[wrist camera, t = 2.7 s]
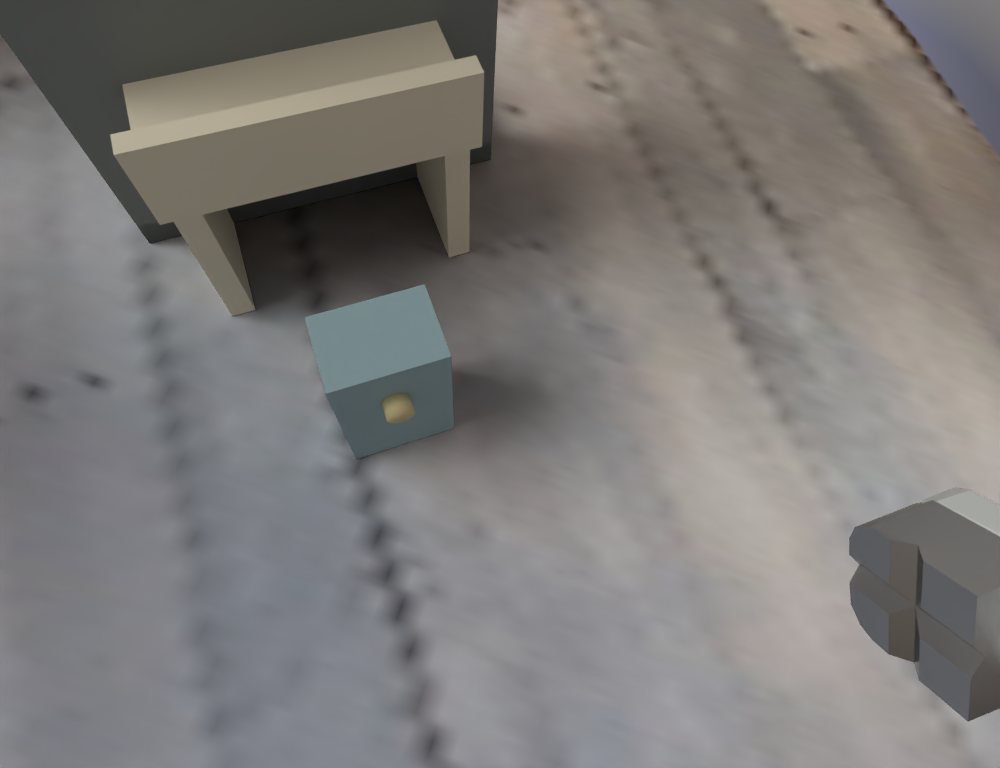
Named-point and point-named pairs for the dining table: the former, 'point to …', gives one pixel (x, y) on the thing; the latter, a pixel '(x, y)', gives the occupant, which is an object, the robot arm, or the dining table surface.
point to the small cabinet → (385, 369)
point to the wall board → (265, 106)
